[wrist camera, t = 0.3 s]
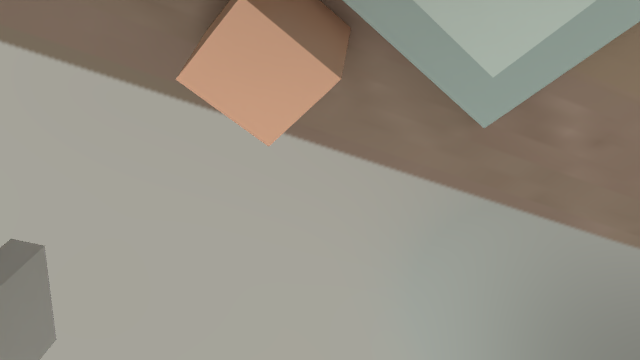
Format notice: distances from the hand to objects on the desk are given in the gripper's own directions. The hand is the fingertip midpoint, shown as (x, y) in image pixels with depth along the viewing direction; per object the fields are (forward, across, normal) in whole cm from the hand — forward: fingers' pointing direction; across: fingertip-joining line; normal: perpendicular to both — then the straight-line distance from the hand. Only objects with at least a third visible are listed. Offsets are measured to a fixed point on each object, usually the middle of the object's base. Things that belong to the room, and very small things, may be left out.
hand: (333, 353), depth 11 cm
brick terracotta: (+27, -7, +1) cm, 28 cm away
